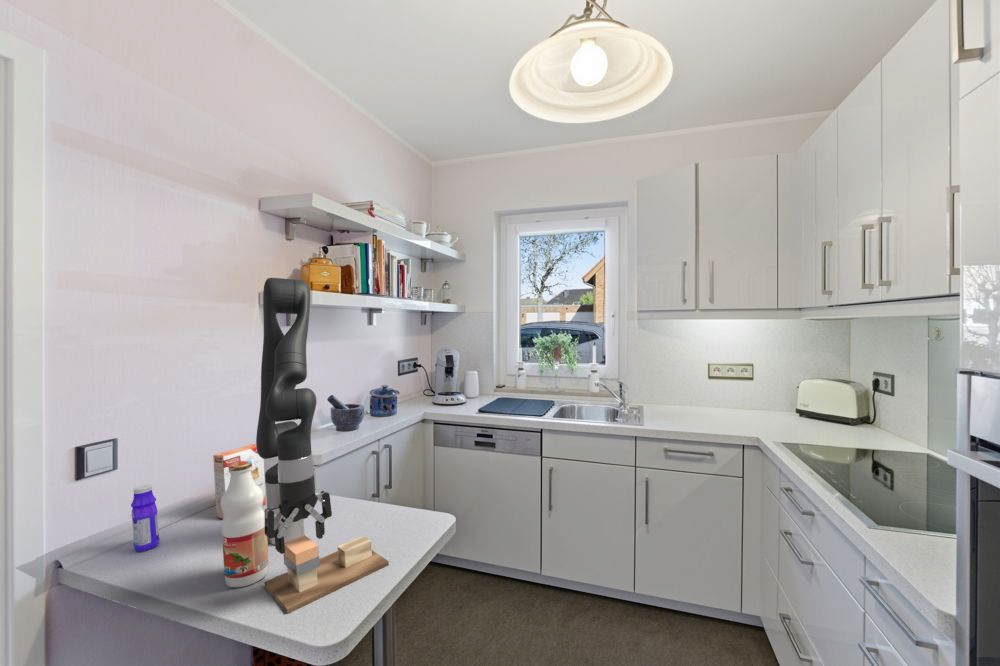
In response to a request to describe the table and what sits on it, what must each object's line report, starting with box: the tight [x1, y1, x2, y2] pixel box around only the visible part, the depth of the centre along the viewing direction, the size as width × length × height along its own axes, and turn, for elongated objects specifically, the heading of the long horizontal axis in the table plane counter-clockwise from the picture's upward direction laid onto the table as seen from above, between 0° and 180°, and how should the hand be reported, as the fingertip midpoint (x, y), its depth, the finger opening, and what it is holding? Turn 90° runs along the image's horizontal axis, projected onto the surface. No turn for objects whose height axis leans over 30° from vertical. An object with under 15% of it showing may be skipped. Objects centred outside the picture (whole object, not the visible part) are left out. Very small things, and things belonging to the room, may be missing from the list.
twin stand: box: [263, 535, 390, 614], centre depth 106 cm, size 15×24×5 cm, turn 135°
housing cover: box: [282, 534, 320, 565], centre depth 102 cm, size 8×5×2 cm, turn 45°
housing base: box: [283, 554, 320, 577], centre depth 102 cm, size 8×5×2 cm, turn 45°
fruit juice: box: [221, 461, 270, 588], centre depth 107 cm, size 9×9×28 cm
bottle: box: [130, 484, 160, 553], centre depth 125 cm, size 7×6×17 cm
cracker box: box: [212, 443, 267, 520], centre depth 148 cm, size 14×6×21 cm, turn 153°
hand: (301, 544), depth 102 cm, fingers open, 8 cm apart
